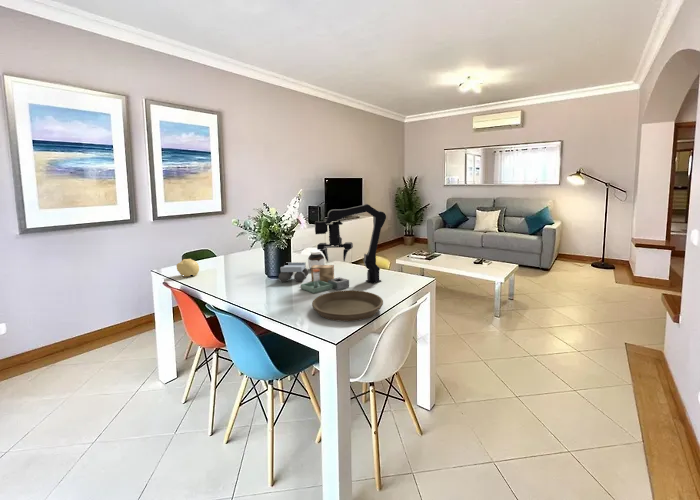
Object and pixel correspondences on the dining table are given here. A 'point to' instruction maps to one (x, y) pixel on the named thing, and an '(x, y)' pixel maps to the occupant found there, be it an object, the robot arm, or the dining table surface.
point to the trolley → (291, 268)
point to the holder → (339, 283)
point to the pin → (316, 278)
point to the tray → (310, 288)
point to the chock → (324, 272)
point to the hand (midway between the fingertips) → (336, 261)
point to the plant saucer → (347, 305)
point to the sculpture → (188, 267)
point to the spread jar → (316, 258)
